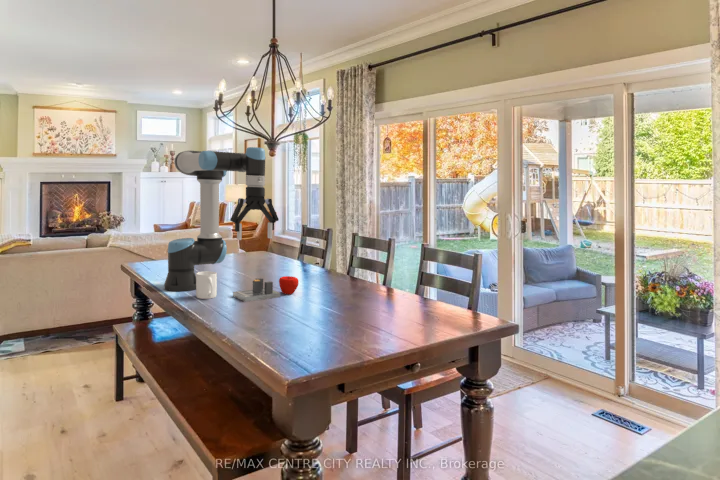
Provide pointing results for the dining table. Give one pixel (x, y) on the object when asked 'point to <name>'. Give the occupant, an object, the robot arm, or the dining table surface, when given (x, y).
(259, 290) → the block
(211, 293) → the mug
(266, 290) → the breaker
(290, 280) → the apple
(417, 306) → the dining table surface
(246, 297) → the panel
